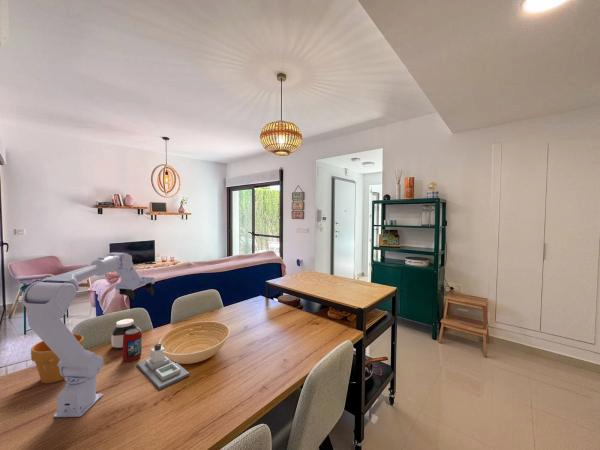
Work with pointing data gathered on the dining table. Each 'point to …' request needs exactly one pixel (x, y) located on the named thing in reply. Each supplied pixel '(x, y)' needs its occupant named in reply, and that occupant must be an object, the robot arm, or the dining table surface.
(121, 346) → the spread jar
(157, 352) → the plug
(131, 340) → the beverage can
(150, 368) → the board
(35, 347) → the flower pot
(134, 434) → the dining table surface
